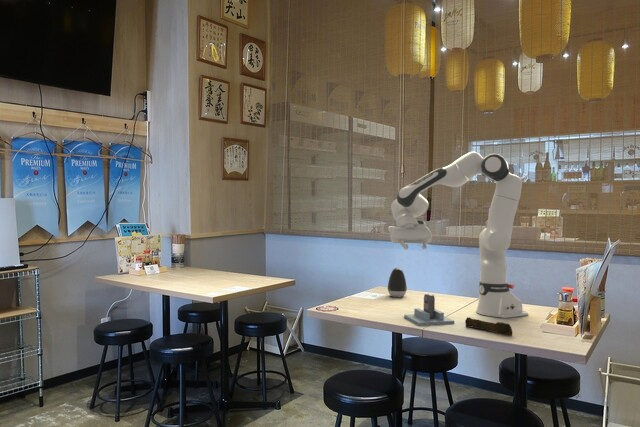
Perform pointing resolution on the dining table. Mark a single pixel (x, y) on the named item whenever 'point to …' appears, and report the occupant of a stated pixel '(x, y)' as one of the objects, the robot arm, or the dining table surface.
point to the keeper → (428, 318)
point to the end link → (429, 304)
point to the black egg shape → (397, 283)
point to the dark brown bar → (490, 326)
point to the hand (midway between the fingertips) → (415, 248)
